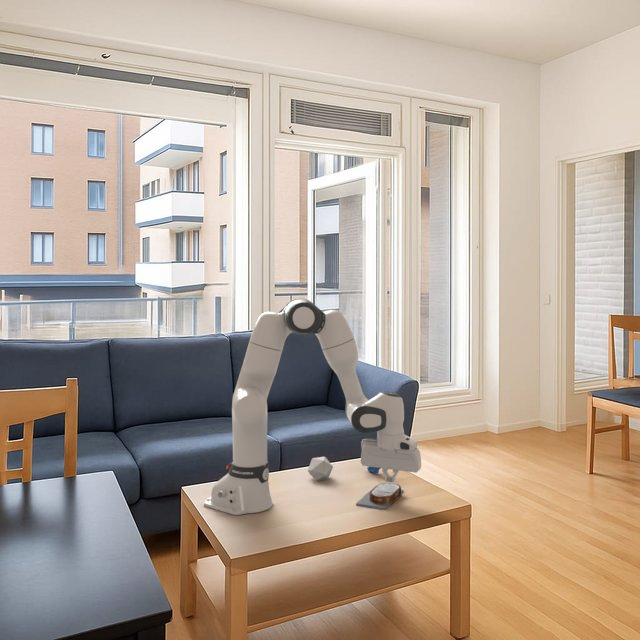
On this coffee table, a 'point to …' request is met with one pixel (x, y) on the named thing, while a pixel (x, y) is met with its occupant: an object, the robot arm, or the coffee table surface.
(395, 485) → the tin
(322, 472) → the die
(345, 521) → the coffee table surface
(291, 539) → the coffee table surface
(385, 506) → the mat
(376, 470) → the grapes
